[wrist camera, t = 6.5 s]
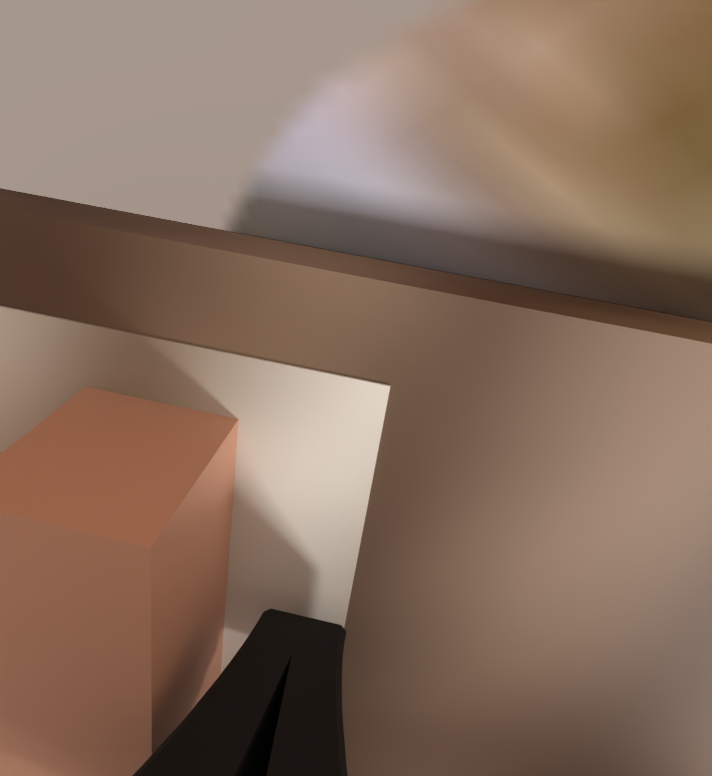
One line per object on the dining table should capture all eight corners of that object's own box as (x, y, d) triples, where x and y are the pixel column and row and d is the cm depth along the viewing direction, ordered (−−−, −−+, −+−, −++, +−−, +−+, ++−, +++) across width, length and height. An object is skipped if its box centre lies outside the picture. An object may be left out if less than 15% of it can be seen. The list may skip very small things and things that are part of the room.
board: (1144, 404, 8) (1228, 442, 8) (739, 897, 14) (757, 952, 13) (-200, 150, 10) (-268, 157, 9) (-68, 688, 16) (-101, 725, 15)
